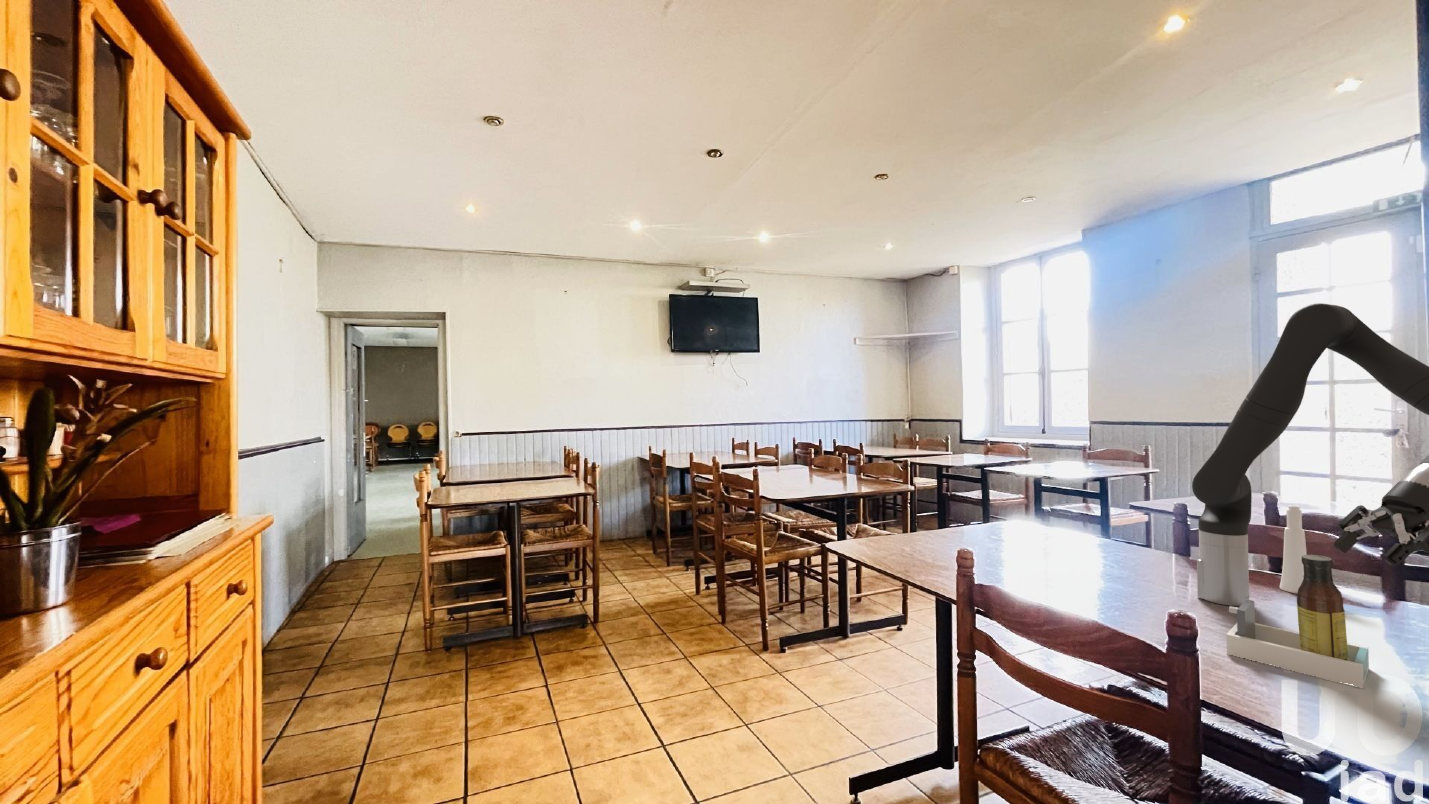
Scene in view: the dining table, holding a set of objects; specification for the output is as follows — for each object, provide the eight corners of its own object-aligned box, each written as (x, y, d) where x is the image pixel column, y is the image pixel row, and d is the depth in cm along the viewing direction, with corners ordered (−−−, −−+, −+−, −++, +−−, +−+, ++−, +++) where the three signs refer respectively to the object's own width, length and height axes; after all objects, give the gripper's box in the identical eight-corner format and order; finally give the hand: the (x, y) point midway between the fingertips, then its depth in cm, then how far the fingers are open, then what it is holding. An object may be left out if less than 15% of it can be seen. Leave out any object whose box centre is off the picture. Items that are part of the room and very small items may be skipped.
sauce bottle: (1337, 657, 109) (1334, 554, 109) (1356, 672, 104) (1353, 563, 103) (1291, 652, 112) (1288, 551, 112) (1308, 666, 106) (1305, 560, 106)
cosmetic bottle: (1286, 592, 147) (1284, 507, 147) (1274, 585, 153) (1272, 503, 153) (1317, 595, 145) (1315, 508, 145) (1305, 588, 150) (1303, 504, 150)
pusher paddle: (1225, 645, 116) (1224, 606, 116) (1235, 633, 121) (1234, 597, 121) (1245, 650, 113) (1244, 611, 113) (1255, 638, 118) (1254, 600, 118)
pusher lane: (1226, 654, 114) (1226, 634, 114) (1240, 638, 121) (1239, 619, 121) (1362, 688, 100) (1362, 666, 100) (1368, 668, 107) (1368, 647, 107)
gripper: (1368, 474, 114) (1309, 533, 115) (1457, 485, 100) (1390, 552, 100) (1397, 500, 114) (1337, 559, 114) (1490, 515, 100) (1422, 582, 100)
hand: (1362, 555), depth 107 cm, fingers open, 8 cm apart
